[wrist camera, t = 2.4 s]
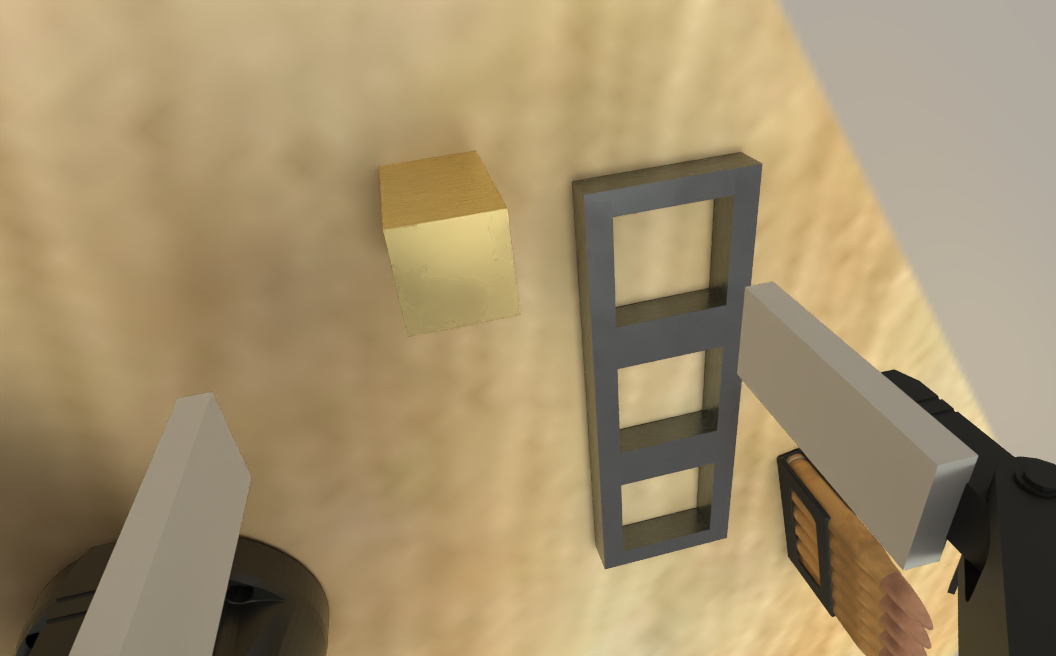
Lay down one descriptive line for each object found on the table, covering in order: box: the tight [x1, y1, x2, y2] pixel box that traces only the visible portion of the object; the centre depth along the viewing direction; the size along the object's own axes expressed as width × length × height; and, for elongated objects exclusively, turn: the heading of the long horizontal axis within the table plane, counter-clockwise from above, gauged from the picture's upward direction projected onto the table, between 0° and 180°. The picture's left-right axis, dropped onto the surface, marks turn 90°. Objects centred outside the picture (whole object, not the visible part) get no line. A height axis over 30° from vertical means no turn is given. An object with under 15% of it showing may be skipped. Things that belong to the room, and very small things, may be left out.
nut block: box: [379, 151, 520, 337], centre depth 24 cm, size 4×4×7 cm
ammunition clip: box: [777, 449, 933, 656], centre depth 38 cm, size 11×2×12 cm, turn 17°
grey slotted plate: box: [572, 152, 762, 569], centre depth 34 cm, size 8×24×2 cm, turn 6°
